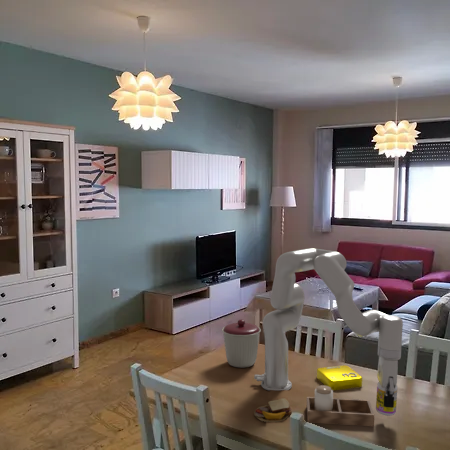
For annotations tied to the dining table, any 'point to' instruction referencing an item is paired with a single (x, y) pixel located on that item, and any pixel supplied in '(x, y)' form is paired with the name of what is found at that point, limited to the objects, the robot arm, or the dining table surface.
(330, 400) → the jar
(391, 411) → the supplement bottle
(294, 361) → the dining table surface
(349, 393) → the dining table surface
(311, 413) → the crate
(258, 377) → the robot arm
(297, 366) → the dining table surface
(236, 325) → the canister
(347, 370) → the element tile
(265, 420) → the toy sandwich meal
